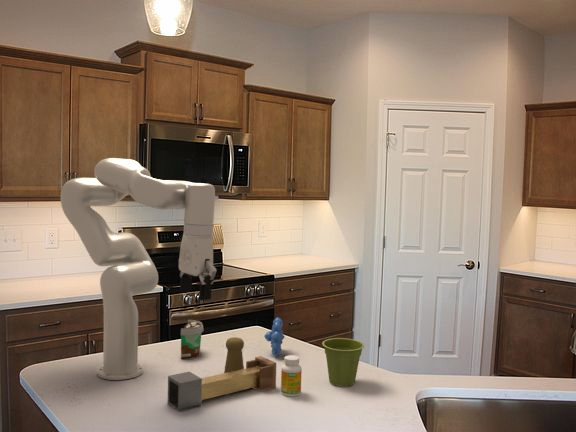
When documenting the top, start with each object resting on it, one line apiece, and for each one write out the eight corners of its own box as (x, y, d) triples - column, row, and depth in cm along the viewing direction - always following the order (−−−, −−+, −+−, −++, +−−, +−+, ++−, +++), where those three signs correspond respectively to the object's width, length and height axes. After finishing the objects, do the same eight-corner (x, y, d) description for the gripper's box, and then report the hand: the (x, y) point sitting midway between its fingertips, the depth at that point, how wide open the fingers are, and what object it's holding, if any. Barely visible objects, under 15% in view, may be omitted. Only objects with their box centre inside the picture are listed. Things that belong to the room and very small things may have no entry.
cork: (241, 380, 160) (242, 342, 160) (220, 378, 161) (221, 340, 161) (247, 373, 166) (247, 336, 166) (227, 371, 167) (228, 334, 167)
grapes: (265, 348, 191) (266, 313, 191) (285, 349, 191) (286, 314, 190) (261, 359, 180) (262, 322, 179) (282, 360, 179) (283, 323, 179)
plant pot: (312, 382, 160) (313, 343, 159) (338, 373, 169) (339, 335, 168) (346, 393, 152) (347, 352, 151) (371, 383, 161) (372, 344, 160)
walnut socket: (245, 383, 157) (246, 359, 157) (260, 380, 160) (260, 356, 160) (260, 391, 152) (261, 366, 151) (275, 387, 155) (276, 362, 154)
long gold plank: (182, 398, 143) (182, 381, 143) (259, 379, 158) (259, 364, 158) (190, 403, 140) (190, 386, 140) (268, 384, 155) (268, 369, 155)
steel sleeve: (167, 403, 142) (167, 375, 142) (188, 398, 146) (189, 371, 145) (179, 411, 137) (180, 383, 137) (201, 406, 141) (201, 378, 140)
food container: (199, 361, 176) (200, 329, 176) (180, 360, 176) (180, 328, 176) (206, 349, 189) (206, 320, 188) (187, 349, 189) (188, 319, 188)
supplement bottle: (286, 398, 148) (287, 361, 147) (277, 391, 152) (278, 355, 152) (304, 395, 150) (305, 359, 150) (295, 388, 155) (295, 353, 154)
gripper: (169, 227, 151) (166, 290, 152) (203, 235, 138) (199, 304, 139) (193, 226, 156) (190, 288, 157) (229, 234, 143) (225, 301, 144)
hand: (195, 295), depth 148 cm, fingers open, 9 cm apart
